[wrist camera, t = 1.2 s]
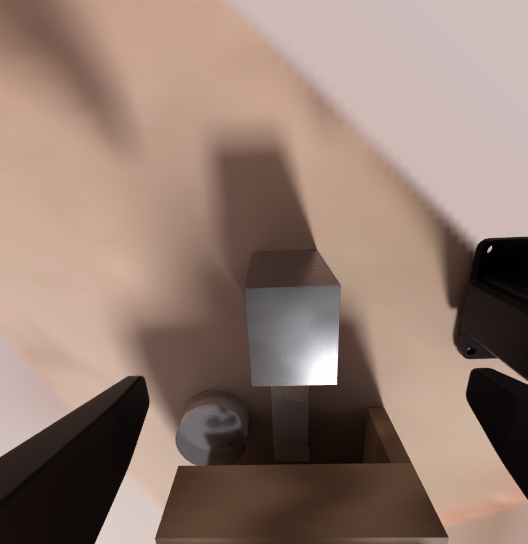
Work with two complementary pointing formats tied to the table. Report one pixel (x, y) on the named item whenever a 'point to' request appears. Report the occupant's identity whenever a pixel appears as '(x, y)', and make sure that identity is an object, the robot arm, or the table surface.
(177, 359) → the table surface
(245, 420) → the steel token
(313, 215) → the table surface
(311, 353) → the grey mallet
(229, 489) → the plinth cabinet
